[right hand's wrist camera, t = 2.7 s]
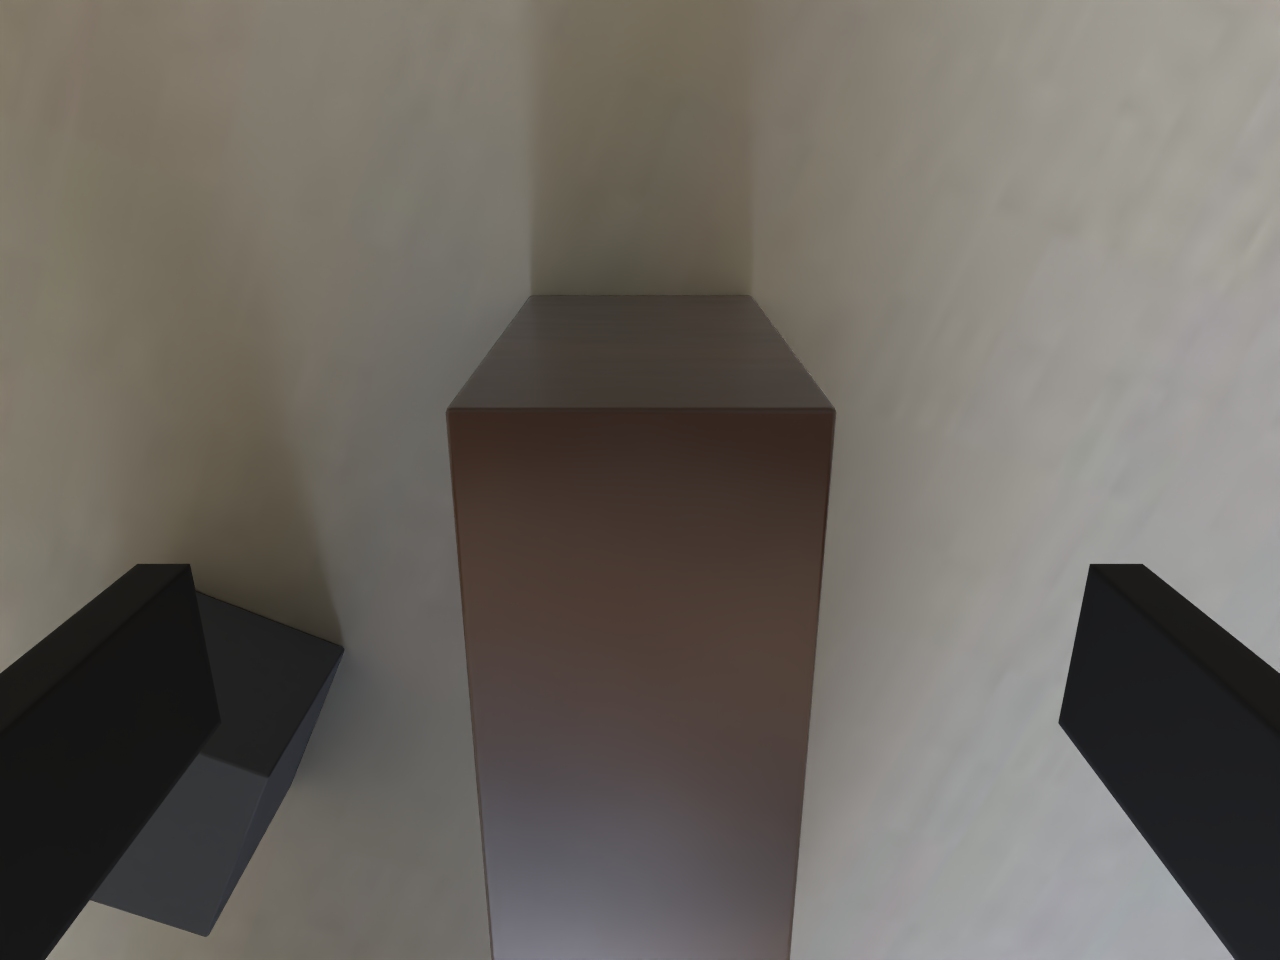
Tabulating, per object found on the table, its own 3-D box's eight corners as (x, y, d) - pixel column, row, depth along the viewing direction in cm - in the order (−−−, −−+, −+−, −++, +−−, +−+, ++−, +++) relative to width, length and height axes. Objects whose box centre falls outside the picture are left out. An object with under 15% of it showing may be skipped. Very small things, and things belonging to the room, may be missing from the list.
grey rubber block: (156, 575, 22) (25, 691, 17) (345, 647, 23) (269, 777, 18) (112, 724, 24) (-19, 867, 19) (290, 786, 24) (207, 938, 20)
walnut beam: (529, 295, 19) (443, 409, 11) (752, 295, 19) (837, 408, 11) (563, 1043, 28) (530, 1427, 20) (717, 1043, 28) (750, 1427, 20)
